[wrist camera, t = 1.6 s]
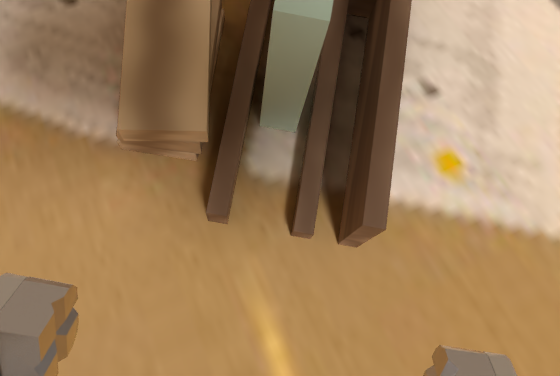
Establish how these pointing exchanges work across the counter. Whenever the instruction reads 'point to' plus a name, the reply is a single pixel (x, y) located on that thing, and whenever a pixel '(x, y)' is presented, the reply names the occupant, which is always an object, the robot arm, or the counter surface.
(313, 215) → the walnut rack
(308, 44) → the sage foam brick
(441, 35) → the counter surface
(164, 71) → the ash offcut top
